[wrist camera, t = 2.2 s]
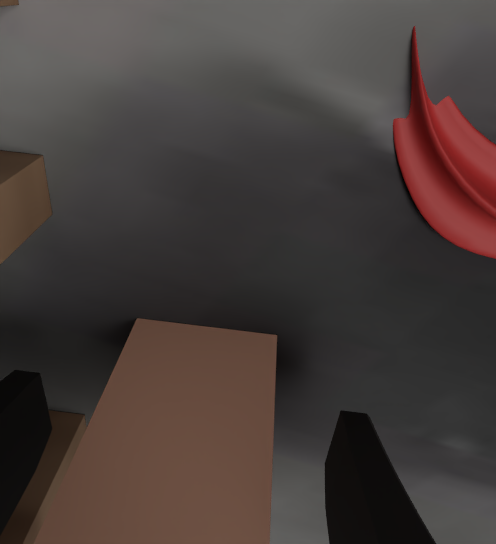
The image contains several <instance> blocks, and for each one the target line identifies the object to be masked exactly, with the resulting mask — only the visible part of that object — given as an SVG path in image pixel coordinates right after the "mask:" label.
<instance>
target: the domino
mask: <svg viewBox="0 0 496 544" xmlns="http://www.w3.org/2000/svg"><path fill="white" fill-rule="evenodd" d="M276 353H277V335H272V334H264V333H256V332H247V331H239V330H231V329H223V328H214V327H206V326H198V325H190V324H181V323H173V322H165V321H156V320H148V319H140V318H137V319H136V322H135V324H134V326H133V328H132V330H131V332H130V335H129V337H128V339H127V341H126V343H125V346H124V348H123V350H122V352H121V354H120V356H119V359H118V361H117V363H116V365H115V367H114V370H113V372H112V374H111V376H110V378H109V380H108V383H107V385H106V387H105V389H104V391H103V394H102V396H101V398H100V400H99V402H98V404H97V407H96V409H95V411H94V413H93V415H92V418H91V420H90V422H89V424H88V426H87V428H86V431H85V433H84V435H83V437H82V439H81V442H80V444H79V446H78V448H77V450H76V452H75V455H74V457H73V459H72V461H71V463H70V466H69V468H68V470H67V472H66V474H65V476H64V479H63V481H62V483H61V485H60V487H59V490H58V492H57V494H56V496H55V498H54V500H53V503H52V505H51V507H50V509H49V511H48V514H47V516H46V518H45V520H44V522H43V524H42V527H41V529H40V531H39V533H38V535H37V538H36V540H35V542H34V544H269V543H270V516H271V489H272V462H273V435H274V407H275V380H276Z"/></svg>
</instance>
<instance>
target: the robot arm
mask: <svg viewBox="0 0 496 544" xmlns="http://www.w3.org/2000/svg"><path fill="white" fill-rule="evenodd" d="M51 431H52V425H51V420H50V416H49V411H48V407H47V402H46V398H45V393H44V389H43V385H42V380H41V376H40V373H35V372H27V371H19V370H14V371H13V372H12V373H10V374H9V375H8V376H7V377H5V378H4V379H3V380H1V381H0V536H1V534H2V532H3V530H4V528H5V526H6V525H7V523H8V521H9V519H10V517H11V516H12V514H13V512H14V510H15V508H16V506H17V505H18V503H19V501H20V499H21V497H22V495H23V493H24V492H25V490H26V488H27V486H28V484H29V482H30V480H31V479H32V477H33V475H34V473H35V471H36V469H37V466H38V464H39V462H40V459H41V457H42V454H43V452H44V449H45V447H46V444H47V442H48V439H49V437H50V434H51ZM325 508H326V517H327V526H328V534H329V543H330V544H436V543H435V541H434V539H433V538H432V536H431V534H430V533H429V531H428V529H427V528H426V526H425V524H424V523H423V521H422V519H421V517H420V516H419V514H418V512H417V510H416V508H415V507H414V505H413V503H412V501H411V499H410V498H409V496H408V494H407V492H406V490H405V489H404V487H403V485H402V483H401V481H400V479H399V477H398V475H397V473H396V472H395V470H394V468H393V466H392V464H391V462H390V460H389V458H388V456H387V454H386V451H385V449H384V447H383V445H382V443H381V441H380V439H379V437H378V435H377V432H376V430H375V428H374V426H373V423H372V421H371V419H370V417H369V416H368V415H367V414H365V413H357V412H349V411H340V415H339V418H338V421H337V425H336V428H335V431H334V435H333V438H332V441H331V445H330V448H329V451H328V455H327V458H326V461H325Z"/></svg>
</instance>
